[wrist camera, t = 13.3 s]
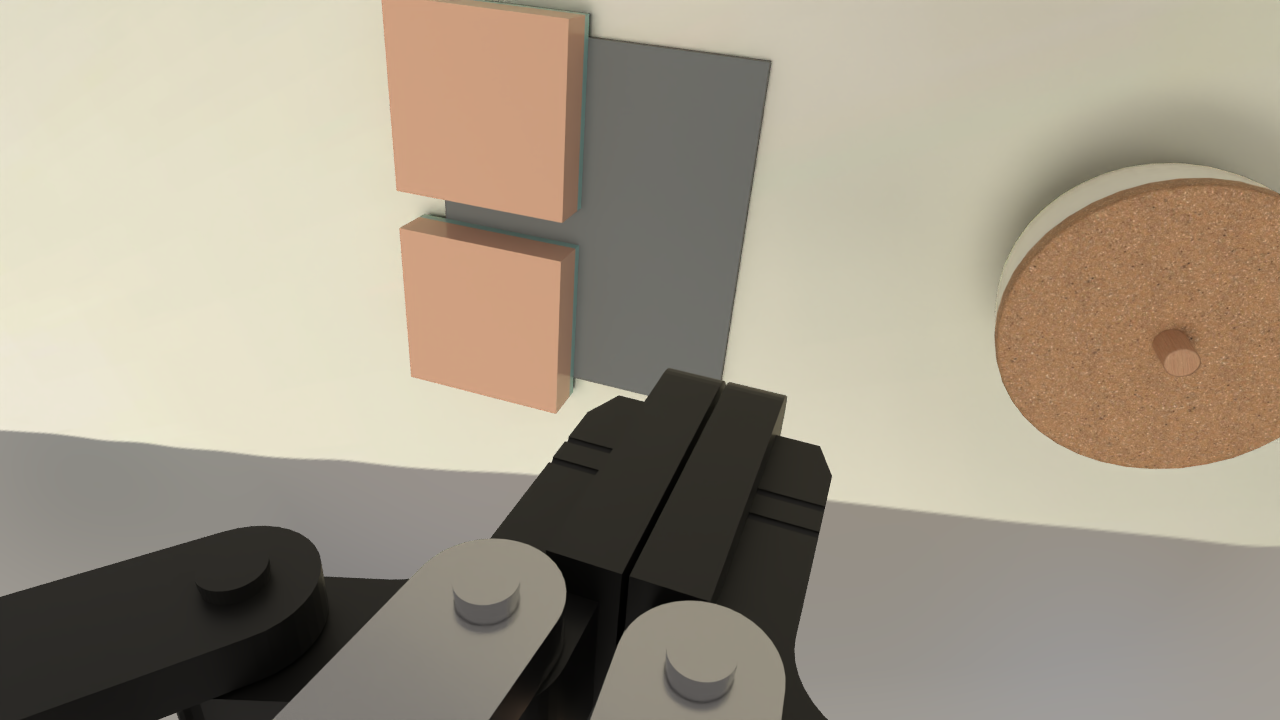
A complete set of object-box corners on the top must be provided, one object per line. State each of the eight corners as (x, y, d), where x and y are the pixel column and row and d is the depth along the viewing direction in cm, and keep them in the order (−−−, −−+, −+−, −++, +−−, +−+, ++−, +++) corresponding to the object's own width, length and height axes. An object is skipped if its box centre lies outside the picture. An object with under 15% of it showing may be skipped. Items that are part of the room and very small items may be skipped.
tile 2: (560, 261, 38) (399, 228, 40) (556, 413, 43) (411, 376, 45) (579, 245, 40) (424, 214, 42) (572, 392, 45) (433, 357, 47)
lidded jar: (1002, 388, 37) (1022, 509, 29) (964, 171, 33) (975, 245, 25) (1281, 352, 33) (1392, 484, 25) (1275, 96, 29) (1404, 158, 21)
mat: (771, 61, 34) (769, 62, 33) (717, 408, 43) (715, 411, 42) (440, 16, 37) (436, 17, 37) (455, 344, 46) (451, 347, 46)
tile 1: (568, 18, 33) (381, -6, 35) (562, 222, 37) (396, 190, 39) (589, 13, 35) (411, -9, 37) (580, 208, 39) (422, 178, 41)
